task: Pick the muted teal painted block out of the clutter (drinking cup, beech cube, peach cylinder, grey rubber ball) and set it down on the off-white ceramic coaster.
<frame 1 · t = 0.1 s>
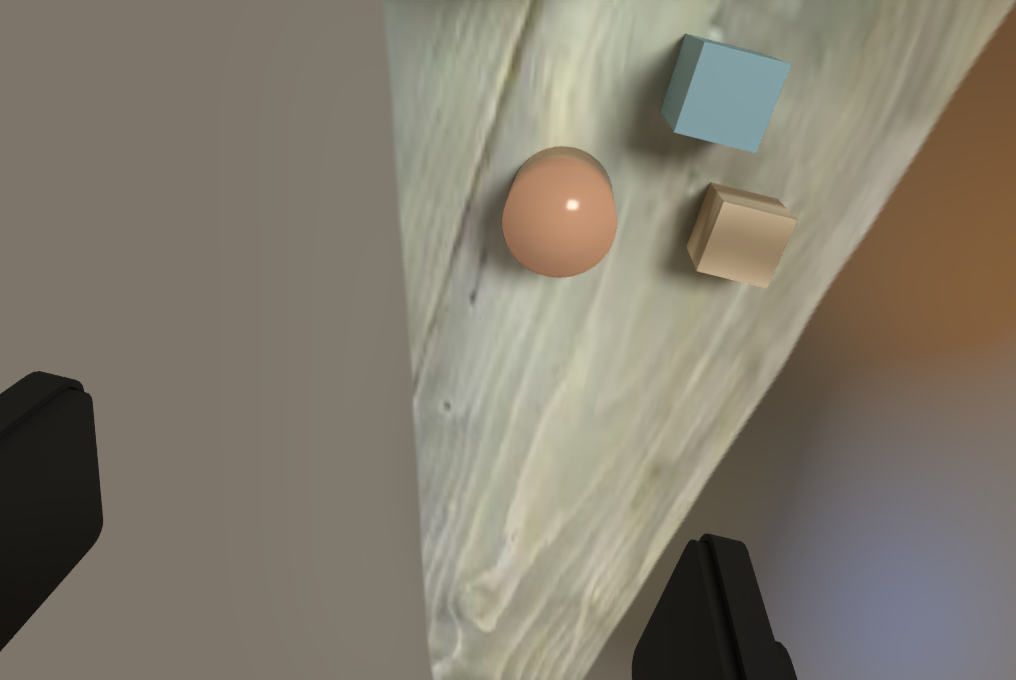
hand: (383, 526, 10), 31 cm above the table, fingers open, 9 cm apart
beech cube: (730, 223, 39), on the table
peach cylinder: (561, 198, 39), on the table
teal block: (708, 82, 36), on the table
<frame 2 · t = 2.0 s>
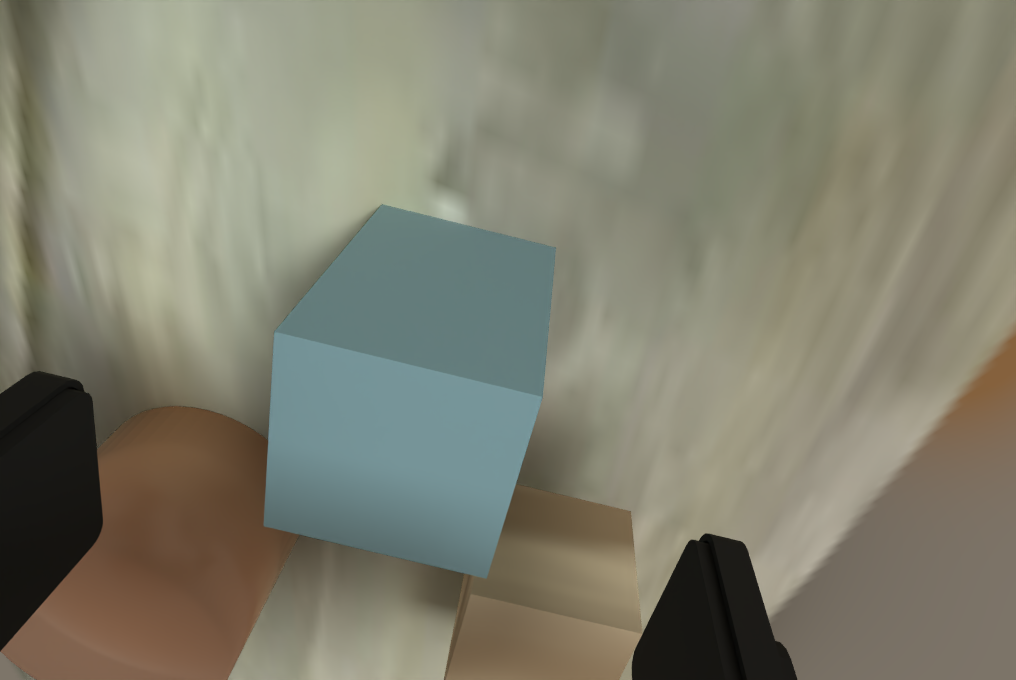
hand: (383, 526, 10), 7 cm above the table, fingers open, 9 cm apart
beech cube: (543, 542, 19), on the table
peach cylinder: (207, 489, 20), on the table
teal block: (453, 303, 16), on the table
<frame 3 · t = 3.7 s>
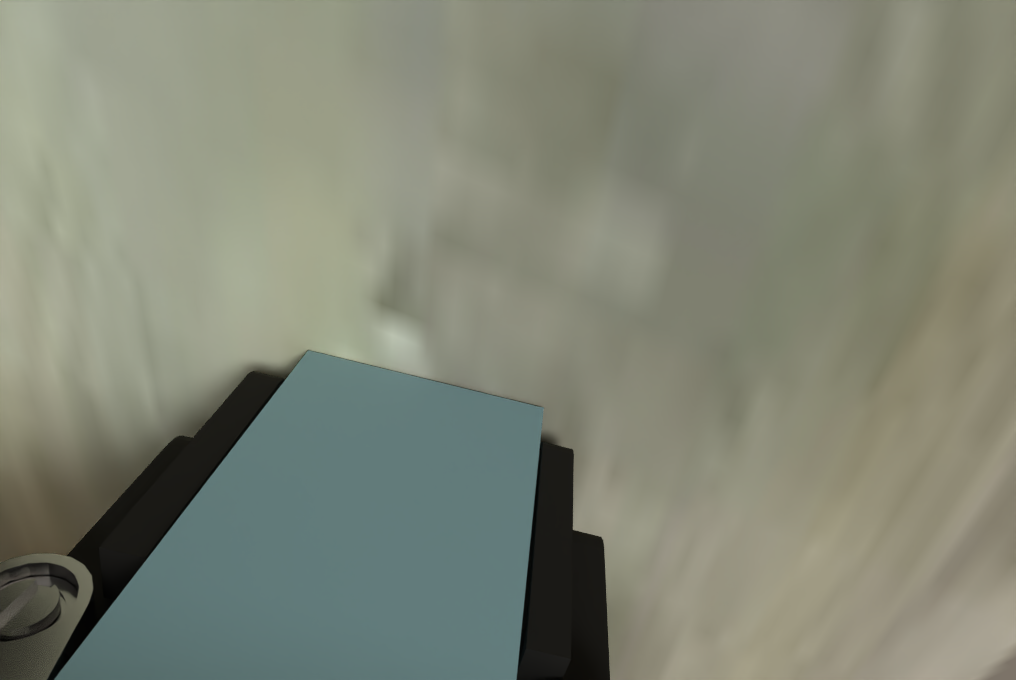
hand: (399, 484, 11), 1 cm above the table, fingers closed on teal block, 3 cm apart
teal block: (408, 471, 12), on the table, touching gripper
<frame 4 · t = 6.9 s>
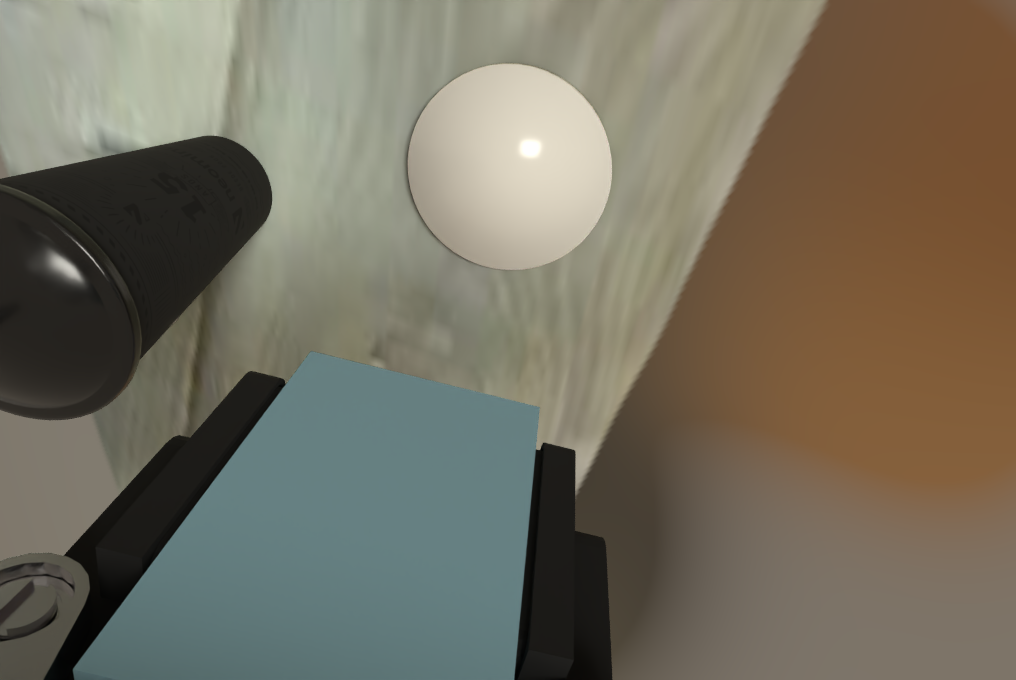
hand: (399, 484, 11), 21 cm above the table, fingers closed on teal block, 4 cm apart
coaster: (509, 171, 30), on the table
teal block: (407, 468, 12), point 20 cm above the table, touching gripper
drinking cup: (225, 187, 32), on the table
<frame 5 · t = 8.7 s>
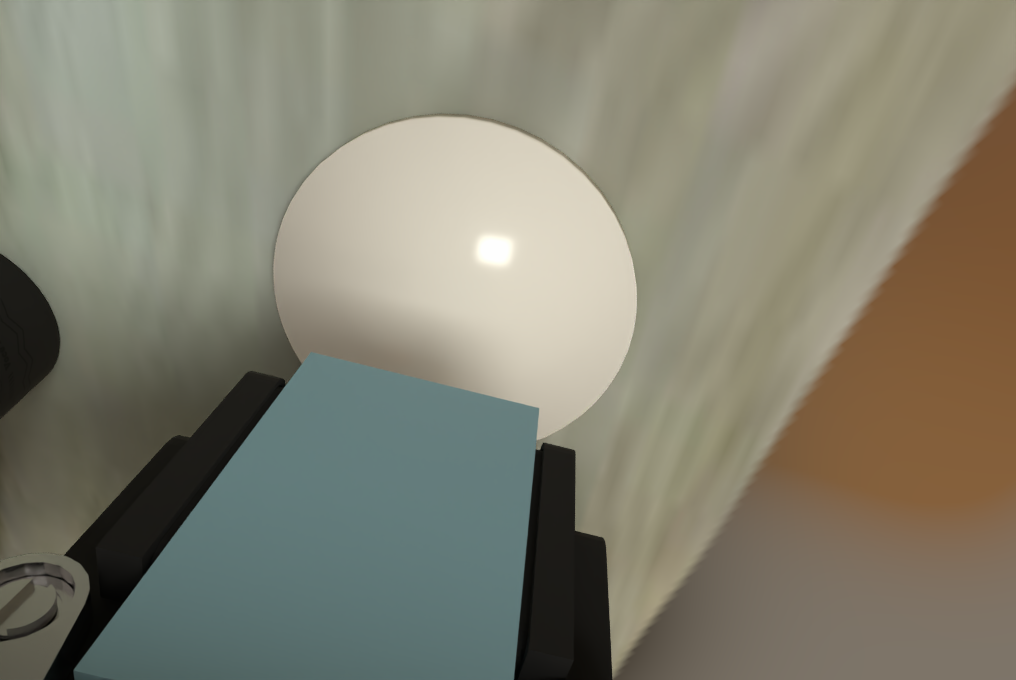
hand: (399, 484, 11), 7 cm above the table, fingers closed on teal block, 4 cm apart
coaster: (455, 297, 17), on the table
teal block: (407, 469, 12), point 6 cm above the table, touching gripper
when the fingers open (3 cm above the table, at t = 10.2 s): teal block drops 1 cm, resting on coaster.
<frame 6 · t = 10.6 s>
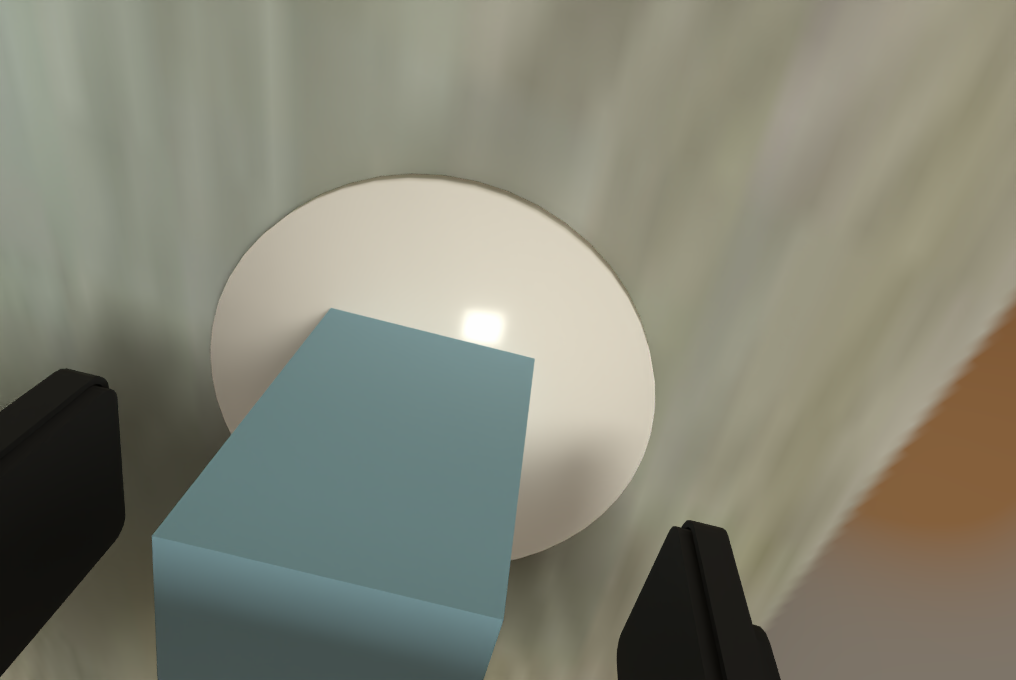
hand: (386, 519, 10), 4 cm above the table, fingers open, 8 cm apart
coaster: (434, 388, 14), on the table
teal block: (416, 416, 14), point 1 cm above the table, touching coaster
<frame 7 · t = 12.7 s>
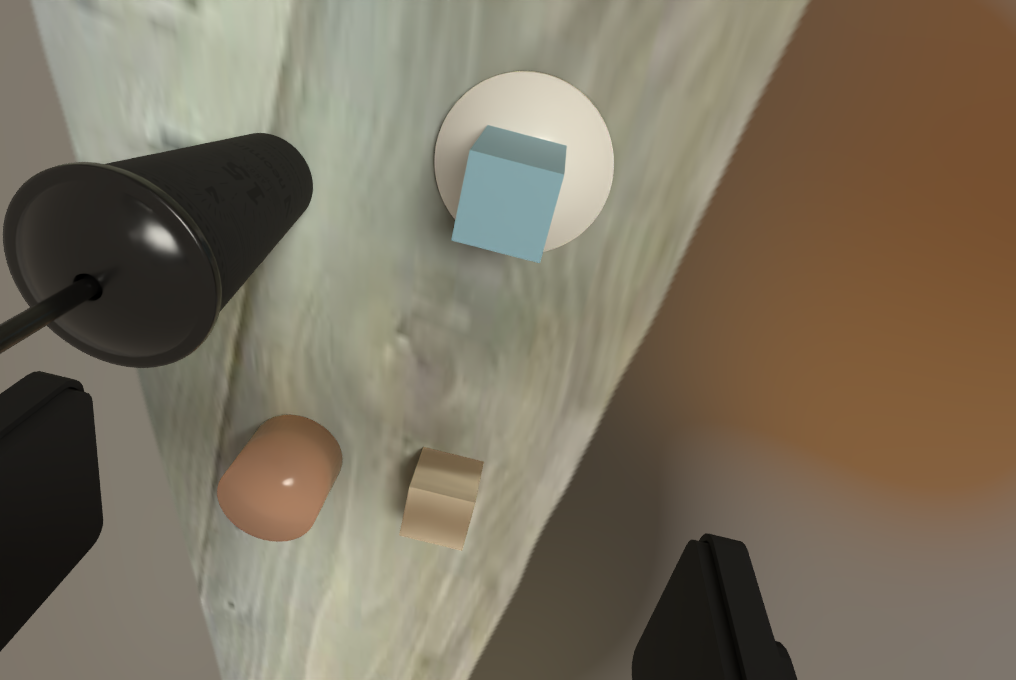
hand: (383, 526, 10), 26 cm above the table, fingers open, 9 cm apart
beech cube: (447, 477, 44), on the table
peach cylinder: (298, 452, 44), on the table
coaster: (524, 165, 34), on the table
teal block: (517, 174, 33), point 1 cm above the table, touching coaster
drinking cup: (271, 178, 36), on the table
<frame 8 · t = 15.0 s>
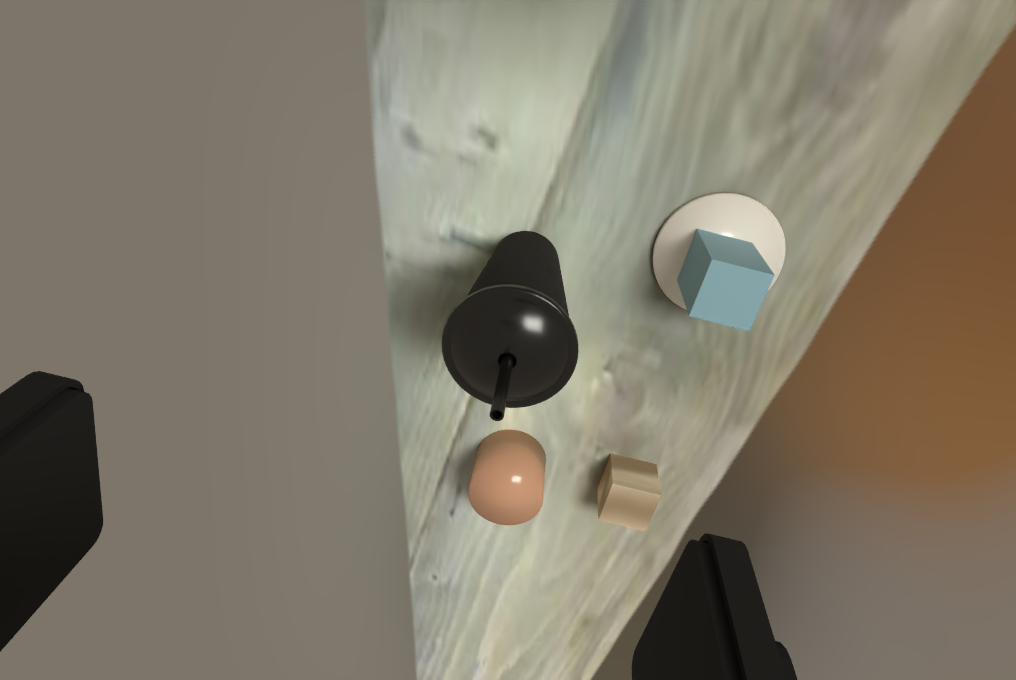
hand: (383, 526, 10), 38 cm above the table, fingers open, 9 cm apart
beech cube: (626, 476, 57), on the table
peach cylinder: (511, 457, 57), on the table
coaster: (716, 254, 47), on the table
teal block: (713, 261, 47), point 1 cm above the table, touching coaster
drinking cup: (526, 261, 49), on the table
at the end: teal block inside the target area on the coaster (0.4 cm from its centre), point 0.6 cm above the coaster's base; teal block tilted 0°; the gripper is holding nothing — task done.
